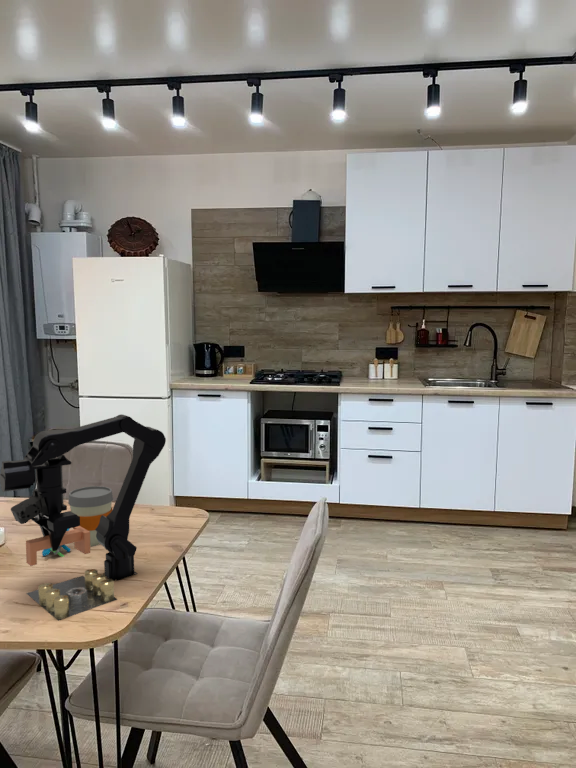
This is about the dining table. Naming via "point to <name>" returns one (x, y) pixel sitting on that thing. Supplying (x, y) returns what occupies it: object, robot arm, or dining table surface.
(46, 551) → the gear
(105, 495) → the reusable coffee cup
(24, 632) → the dining table surface
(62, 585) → the plate
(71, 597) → the nut
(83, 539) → the copper l-bar
